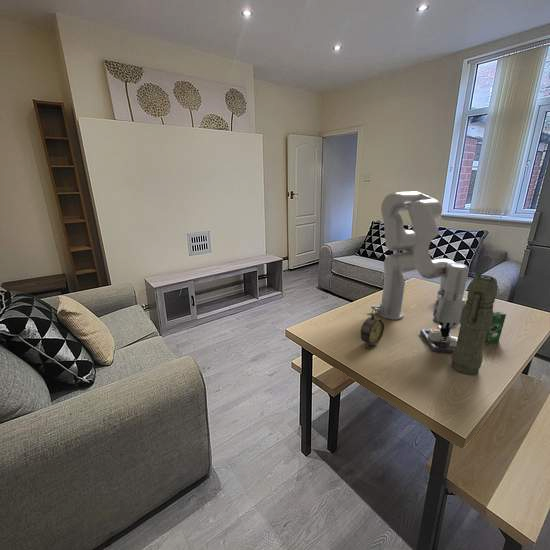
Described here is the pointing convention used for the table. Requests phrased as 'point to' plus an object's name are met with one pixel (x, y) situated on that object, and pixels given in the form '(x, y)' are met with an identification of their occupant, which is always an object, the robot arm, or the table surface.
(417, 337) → the table surface
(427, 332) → the panel
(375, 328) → the alarm clock
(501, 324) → the coffee box
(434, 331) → the block
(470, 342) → the thermos
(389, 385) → the table surface
